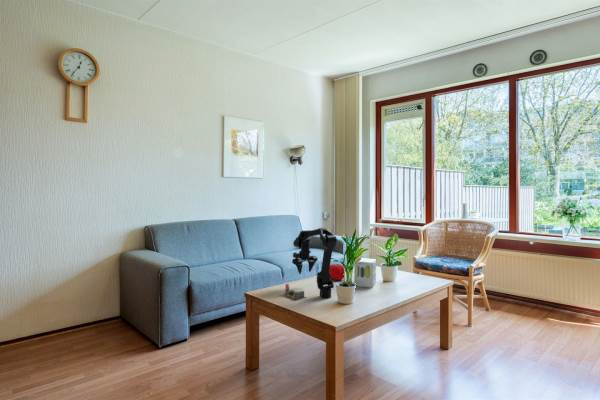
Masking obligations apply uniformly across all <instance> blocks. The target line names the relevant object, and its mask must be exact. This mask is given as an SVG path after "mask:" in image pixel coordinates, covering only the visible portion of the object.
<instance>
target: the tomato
mask: <svg viewBox="0 0 600 400" xmlns="http://www.w3.org/2000/svg"><path fill="white" fill-rule="evenodd" d="M343 267H344V266H343V265H342V264H339V263H336V264H333V263H331V264H330V269H329V273H330V275H331V280H334V281H341V280H343V279H344V278H345V276H344V275H343V274H344V269H345V267H344V268H343Z"/></svg>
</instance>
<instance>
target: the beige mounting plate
mask: <svg viewBox="0 0 600 400" xmlns="http://www.w3.org/2000/svg"><path fill="white" fill-rule="evenodd" d="M278 296H280V297H282V298H286V299H288V300H291V301H294V302H296V301H300V300H303V299H306V298H307V296H305V291H303V290H299V292H296V293H295V297H294V295H291V296H290V295H286V294H285V293H283V294H279V295H278Z"/></svg>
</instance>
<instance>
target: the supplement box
mask: <svg viewBox="0 0 600 400" xmlns="http://www.w3.org/2000/svg"><path fill="white" fill-rule="evenodd" d="M360 258H361V260H360V261H358V263H357V264H356V265H355V264H354V271H353V272H354V276H353V279H354V282H355V283H356V284H357V286H356V287H363V288H370V289H371V288H372V289H373V288H374V287H375V285H376V281H377V279H376V277H377V272H376V271H377V259H376V258H369V257H368V258H367V257H360Z"/></svg>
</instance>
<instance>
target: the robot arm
mask: <svg viewBox="0 0 600 400" xmlns="http://www.w3.org/2000/svg"><path fill="white" fill-rule="evenodd" d="M317 236H319V239H320V240H321V242H322V243H321V245H322V246H323V253H322V255H323V256H322V261H321V270H320V271H319V272H317V274H316V284H317V289H318V290H319V297H320V298H321V299H325V300H326V299H327V300H328V299H331V298H332V289H334V285H335V284H334V282H333V281H332V280H333V279H331V275H330V273H329V269H330V265H331V261H332V255H333V250H334V248H335V247H336V245H337V239H338V238H337V237H336V235H335V234H334V233H333V232H331V231H330V230H328V228H326V227H319V228H316V229H313V230H310V229H309V230H301V231H300V232H299V234H298V236H297V237H295V239H294V240H293V242H292V244H293V247H295V248H297V249H300V250H299V251H298V253H297V252H293V253H292V258H293V259H292V260H291V262H292V263H291V264H293V265H295V266H296V268H297V271H298V274H299V275H301V273H302V271H303V263H304V262H307V263H308V272H309V273H310V272H311V271H312V270H313V267H314V266H315V264H316V263H317V261H319V260H318V259H319V258H318V257H317V256H315V255H310V254H311V253H312V250H310V249H311V247H310V245H311V244H312V241H311V240H310V239H312V238H313V237H317Z"/></svg>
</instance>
